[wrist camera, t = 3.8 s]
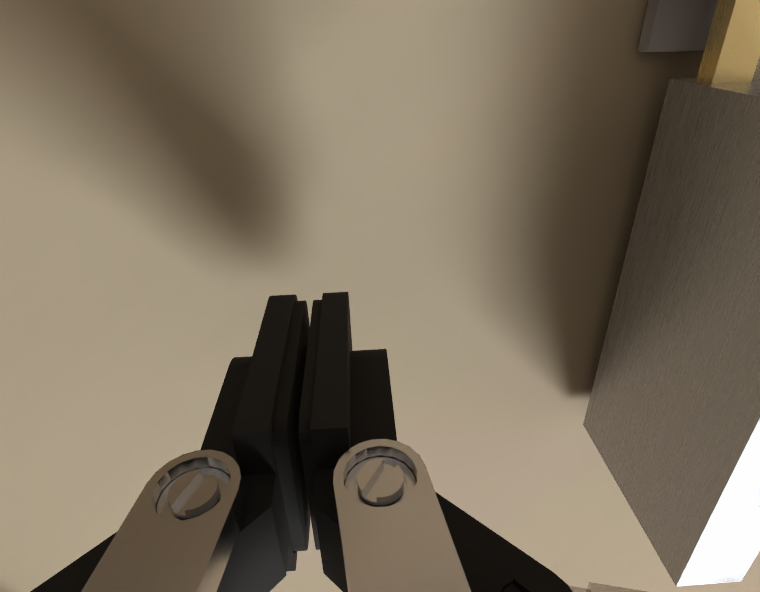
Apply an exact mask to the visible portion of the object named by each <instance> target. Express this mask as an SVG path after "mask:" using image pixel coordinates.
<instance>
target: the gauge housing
mask: <svg viewBox="0 0 760 592" xmlns="http://www.w3.org/2000/svg"><path fill="white" fill-rule="evenodd" d="M717 3H718V0H648V4H647V9H646V13H645V18H644V23H643V27H642V32H641V37H640V42H639V46H638V51H640V52H672V51H699V50H705V46H706V42H707V39H708V35H709V32H710V28H711V24H712V21H713V17H714V13H715V10H716V6H717Z"/></svg>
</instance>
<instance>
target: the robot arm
mask: <svg viewBox="0 0 760 592" xmlns="http://www.w3.org/2000/svg"><path fill="white" fill-rule="evenodd" d="M310 515H311V522H312V528H313V535H314V541H315V547H316V550H319V549H320V551H321V558H322V565H323V571H324V574H325V575H326V576H327V577H328V578H329V579H330V580H331V581H332V582H334V583H335V584H336V585H337V586H338V587H339V588H340V589H341V590H342V591H343V592H646V591H640V590H634V589H628V588H622V587H616V586H609V585H603V584H597V583H591V582H589V585H588V588H587V589H585V588H579V587H573V586H568V585H567V584H566V583H565V582H564V581H563V580H562V579H560V578H559V577H558V576H557V575H556V574H555V573H553V572H552V571H551V570H549V569H548V568H546V567H545V566H543V565H542V564H540V563H539V562H537V561H536V560H534V559H533V558H531V557H530V556H529V555H527V554H526V553H524V552H523V551H521V550H520V549H518V548H517V547H515V546H514V545H512V544H511V543H509V542H508V541H507V540H505V539H504V538H502V537H501V536H499V535H498V534H496V533H495V532H493V531H492V530H490V529H489V528H487V527H486V526H485V525H483V524H482V523H480V522H479V521H477V520H476V519H474V518H473V517H471V516H470V515H468V514H467V513H465V512H464V511H463V510H461V509H460V508H458V507H457V506H455V505H454V504H452V503H451V502H449V501H448V500H446V499H445V498H443V497H442V496H441V495H439V494H438V493H436V492H435V490H434V488H433V485H432V482H431V479H430V477H429V474H428V471H427V468H426V466H425V464H424V462H423V460H422V459H421V457H420V455H419V454H418V453H416V452H415V451H414V450H413V449H412V448H411V447H409V446H407V445H405V444H403V443H401V442H399V441H397V438H396V429H395V420H394V411H393V402H392V394H391V385H390V376H389V367H388V359H387V351H386V349H378V350H360V351H352V339H351V324H350V310H349V296H348V292H337V293H323V297H322V300H313V306H312V315H311V323H310V325H309V317H308V309H307V303H306V301H298V300H297V296H296V295H279V296H270V297H269V299H268V303H267V306H266V310H265V313H264V317H263V321H262V324H261V328H260V331H259V335H258V338H257V342H256V346H255V349H254V353H253V356H252V357H235V358H233V359H232V360H231V362H230V365H229V368H228V371H227V373H226V376H225V379H224V382H223V385H222V388H221V391H220V394H219V397H218V400H217V403H216V406H215V409H214V412H213V415H212V418H211V421H210V424H209V427H208V429H207V432H206V435H205V438H204V441H203V444H202V447H201V450H198V451H193V452H190V453H187V454H183V455H181V456H179V457H177V458H175V459H173V460H171V461H169V462H168V463H166V464H165V465H164V466H163V467H161V468H160V469H159V470H158V471H156V472H155V474H154V475H153V476H152V477H151V479H150V480H149V481H148V482H147V484H146V485H145V487H144V489H143V490H142V492H141V494H140V495H139V497H138V499H137V500H136V502H135V504H134V505H133V507H132V508H131V510H130V512H129V513H128V515H127V517H126V518H125V520H124V522H123V523H122V525H121V527H120V528H119V530H118V531H117V532H116V533H115V534H113V535H112V536H110V537H109V538H107V539H106V540H104V541H103V542H102V543H100V544H99V545H97V546H96V547H94V548H93V549H92V550H90V551H89V552H87V553H86V554H84V555H83V556H81V557H80V558H79V559H77V560H76V561H74V562H73V563H71V564H70V565H68V566H67V567H66V568H64V569H63V570H61V571H60V572H58V573H57V574H55V575H54V576H53V577H51V578H50V579H48V580H47V581H45V582H44V583H42V584H41V585H40V586H38V587H37V588H35V589H34V590H32V591H31V592H270V591H271V590H272V589H273V588H274V587H275V586H276V585H277V584H278V583H279V582H280V581H281V580H282V579H283V578H284V577H285V576H286V571H295V570H296V560H297V551H305V550H307V549H308V542H309V528H310Z"/></svg>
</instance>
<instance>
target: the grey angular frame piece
mask: <svg viewBox="0 0 760 592" xmlns="http://www.w3.org/2000/svg"><path fill="white" fill-rule="evenodd" d="M759 57H760V0H718V3H717V6H716V10H715V13H714V17H713V21H712V24H711V28H710V32H709V35H708V39H707V42H706V46H705V50H704V53H703V57H702V61H701V64H700V68H699V72H698V75H697V78H674V79H669V83H668V87H667V91H666V95H665V99H664V103H663V107H662V112H661V116H660V120H659V124H658V128H657V132H656V136H655V140H654V144H653V148H652V152H651V156H650V160H649V164H648V168H647V172H646V176H645V180H644V184H643V188H642V192H641V196H640V200H639V204H638V208H637V212H636V216H635V220H634V224H633V228H632V232H631V236H630V240H629V244H628V248H627V252H626V256H625V260H624V264H623V268H622V272H621V276H620V280H619V284H618V288H617V292H616V296H615V300H614V304H613V308H612V312H611V316H610V320H609V324H608V328H607V332H606V336H605V340H604V344H603V348H602V352H601V356H600V360H599V364H598V368H597V372H596V376H595V380H594V384H593V388H592V392H591V396H590V400H589V404H588V408H587V412H586V416H585V420H584V424H583V425H584V427H585V428H586V430H587V432H588V434H589V435H590V437H591V439H592V441H593V442H594V444H595V446H596V448H597V449H598V451H599V453H600V455H601V456H602V458H603V460H604V462H605V463H606V465H607V467H608V469H609V470H610V472H611V474H612V475H613V477H614V479H615V481H616V482H617V484H618V486H619V488H620V489H621V491H622V493H623V495H624V496H625V498H626V500H627V502H628V503H629V505H630V507H631V509H632V510H633V512H634V514H635V516H636V517H637V519H638V521H639V523H640V524H641V526H642V528H643V530H644V531H645V533H646V535H647V536H648V538H649V540H650V542H651V543H652V545H653V547H654V549H655V550H656V552H657V554H658V556H659V557H660V559H661V561H662V563H663V564H664V566H665V568H666V570H667V571H668V573H669V575H670V577H671V578H672V580H673V582H674V584H675V585H676V586H688V585H701V584H714V583H727V582H740V581H741V580H742V579H743V577H744V575H745V574H746V572H747V570H748V569H749V567H750V565H751V564H752V562H753V560H754V559H755V557H756V556H757V554H758V552H759V551H760V79H755V78H753V76H754V73H755V70H756V67H757V64H758V61H759Z"/></svg>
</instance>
